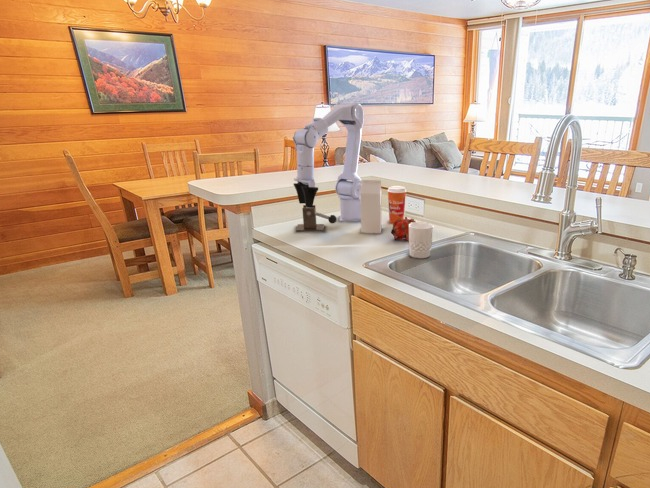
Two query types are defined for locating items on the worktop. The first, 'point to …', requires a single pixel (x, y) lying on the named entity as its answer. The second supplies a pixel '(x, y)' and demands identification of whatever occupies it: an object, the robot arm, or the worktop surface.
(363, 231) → the milk carton
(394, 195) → the paper cup
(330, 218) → the faucet lever
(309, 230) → the faucet bracket
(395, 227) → the dragon fruit
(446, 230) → the worktop surface
